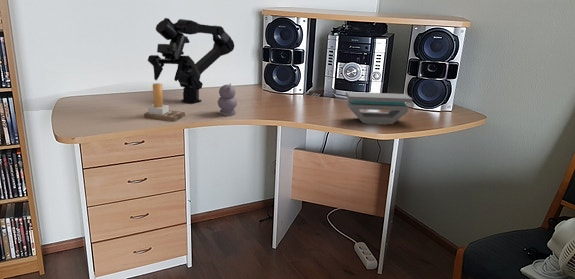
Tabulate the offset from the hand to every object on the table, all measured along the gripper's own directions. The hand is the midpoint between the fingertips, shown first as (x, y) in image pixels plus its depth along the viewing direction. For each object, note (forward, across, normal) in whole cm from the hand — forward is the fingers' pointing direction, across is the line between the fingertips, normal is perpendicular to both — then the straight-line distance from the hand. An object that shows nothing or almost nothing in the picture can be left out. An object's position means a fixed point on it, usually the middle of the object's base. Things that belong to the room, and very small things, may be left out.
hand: (165, 80), depth 172 cm
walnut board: (+14, +3, +3) cm, 15 cm away
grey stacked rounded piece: (+6, +22, +16) cm, 28 cm away
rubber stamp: (+13, 0, +2) cm, 13 cm away
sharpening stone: (-3, +79, +34) cm, 86 cm away
